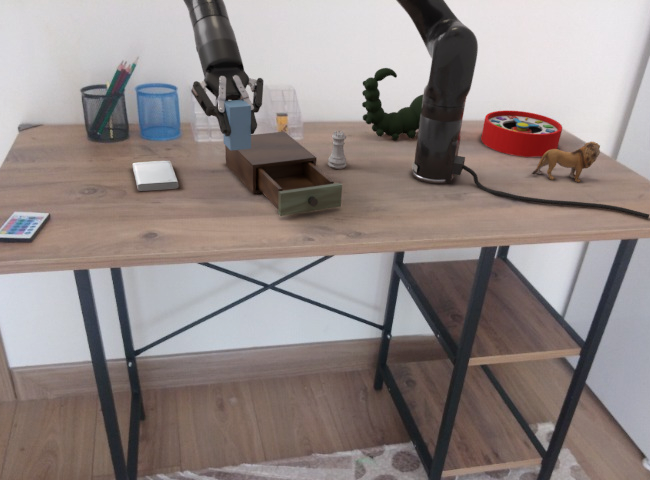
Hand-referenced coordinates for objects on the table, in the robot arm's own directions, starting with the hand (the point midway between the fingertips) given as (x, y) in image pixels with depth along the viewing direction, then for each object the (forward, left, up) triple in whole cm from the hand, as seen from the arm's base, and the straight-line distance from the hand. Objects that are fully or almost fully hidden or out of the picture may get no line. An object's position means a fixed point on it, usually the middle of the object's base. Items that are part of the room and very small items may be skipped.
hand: (240, 132), depth 118 cm
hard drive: (+24, -8, -16) cm, 30 cm away
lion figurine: (-60, -51, -16) cm, 80 cm away
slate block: (+1, -1, -3) cm, 4 cm away
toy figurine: (-19, -61, -16) cm, 66 cm away
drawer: (-7, -11, -15) cm, 20 cm away
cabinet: (+3, -21, -16) cm, 26 cm away
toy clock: (-48, -71, -16) cm, 87 cm away
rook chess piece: (-9, -33, -16) cm, 38 cm away
